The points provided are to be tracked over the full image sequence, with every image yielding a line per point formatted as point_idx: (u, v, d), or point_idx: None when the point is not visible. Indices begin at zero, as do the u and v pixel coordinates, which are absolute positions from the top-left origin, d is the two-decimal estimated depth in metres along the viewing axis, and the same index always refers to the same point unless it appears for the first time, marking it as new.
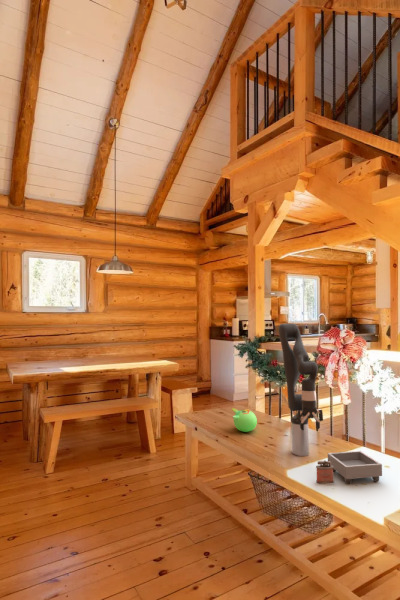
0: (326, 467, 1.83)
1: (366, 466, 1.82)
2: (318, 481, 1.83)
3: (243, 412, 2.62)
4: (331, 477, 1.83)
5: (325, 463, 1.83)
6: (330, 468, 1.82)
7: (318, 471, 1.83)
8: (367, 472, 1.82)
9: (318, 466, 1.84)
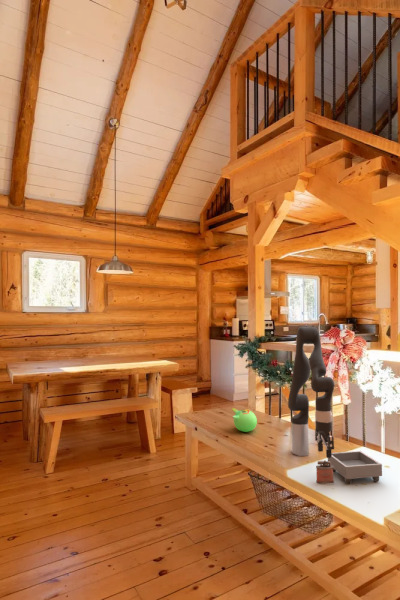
0: (326, 467, 1.83)
1: (366, 466, 1.82)
2: (318, 481, 1.83)
3: (243, 412, 2.62)
4: (331, 477, 1.83)
5: (325, 463, 1.83)
6: (330, 468, 1.82)
7: (318, 471, 1.83)
8: (367, 472, 1.82)
9: (318, 466, 1.84)
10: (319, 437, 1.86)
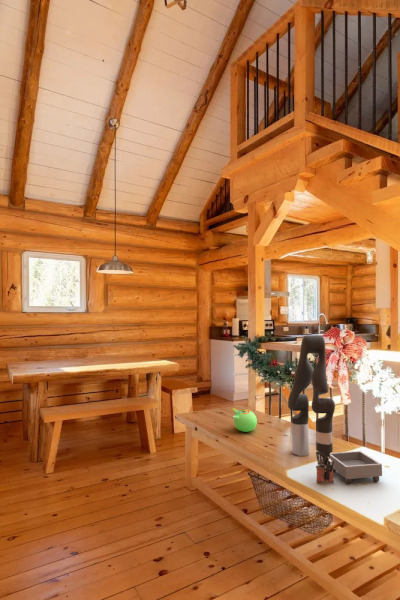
0: None
1: (366, 466, 1.82)
2: (318, 481, 1.83)
3: (243, 412, 2.62)
4: (331, 477, 1.83)
5: None
6: None
7: (318, 471, 1.83)
8: (367, 472, 1.82)
9: (318, 466, 1.84)
10: (320, 459, 1.85)
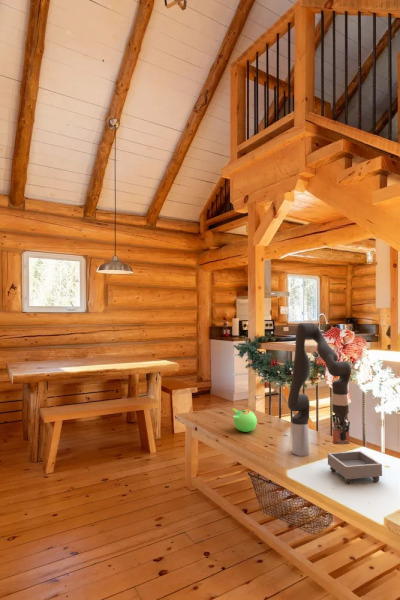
0: (342, 428, 1.87)
1: (366, 466, 1.82)
2: (334, 442, 1.87)
3: (243, 412, 2.62)
4: (347, 438, 1.87)
5: None
6: None
7: (334, 432, 1.87)
8: (367, 472, 1.82)
9: (334, 427, 1.88)
10: (336, 420, 1.89)
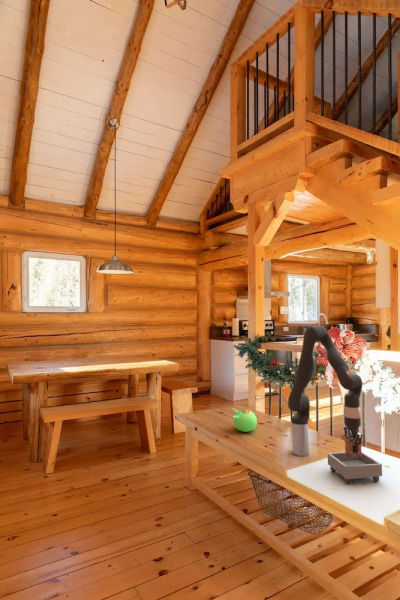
0: None
1: (366, 466, 1.82)
2: (347, 454, 1.89)
3: (243, 412, 2.62)
4: (359, 450, 1.89)
5: None
6: None
7: (347, 444, 1.90)
8: (367, 472, 1.82)
9: (347, 440, 1.91)
10: (348, 433, 1.92)
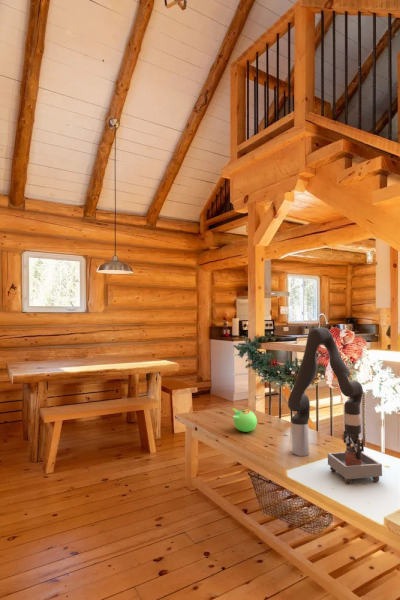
0: (355, 452, 1.89)
1: (366, 466, 1.82)
2: (347, 465, 1.89)
3: (243, 412, 2.62)
4: (359, 461, 1.90)
5: (354, 448, 1.90)
6: None
7: (347, 456, 1.89)
8: (367, 472, 1.82)
9: (347, 451, 1.90)
10: (348, 439, 1.92)
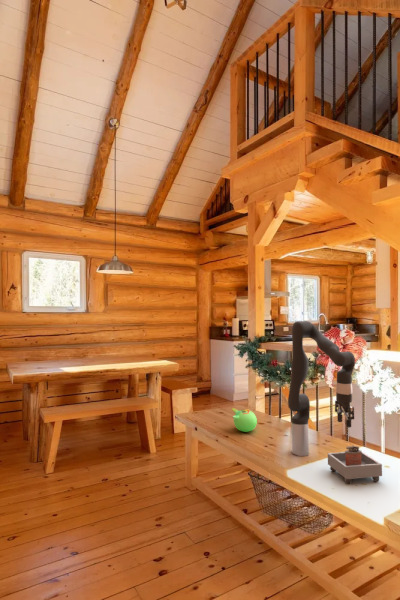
0: (355, 452, 1.89)
1: (366, 466, 1.82)
2: (347, 465, 1.89)
3: (243, 412, 2.62)
4: (359, 461, 1.90)
5: (354, 448, 1.90)
6: (359, 453, 1.89)
7: (347, 456, 1.89)
8: (367, 472, 1.82)
9: (347, 451, 1.90)
10: (339, 408, 1.96)
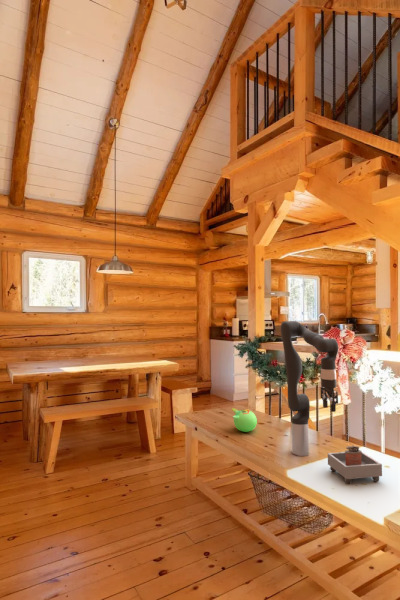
0: (355, 452, 1.89)
1: (366, 466, 1.82)
2: (347, 465, 1.89)
3: (243, 412, 2.62)
4: (359, 461, 1.90)
5: (354, 448, 1.90)
6: (359, 453, 1.89)
7: (347, 456, 1.89)
8: (367, 472, 1.82)
9: (347, 451, 1.90)
10: (324, 394, 2.02)
